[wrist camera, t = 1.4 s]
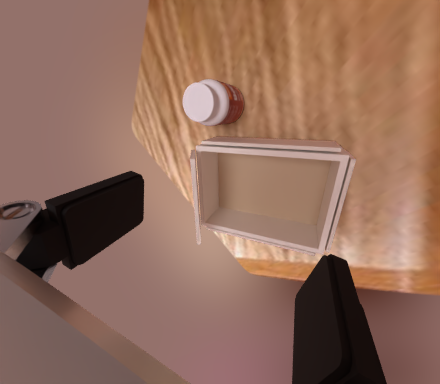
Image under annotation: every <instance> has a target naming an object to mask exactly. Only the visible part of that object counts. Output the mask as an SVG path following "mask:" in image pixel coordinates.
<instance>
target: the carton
mask: <svg viewBox="0 0 440 384" xmlns="http://www.w3.org/2000/svg"><path fill="white" fill-rule="evenodd" d="M196 154H197V169H198V183H199V198H200V213H201V225H202V226H206V228H207V229H208V230H212V231H216V232H220V233H224V234H228V235H232V236H236V237H240V238H244V239H248V240H252V241H256V242H260V243H264V244H268V245H272V246H276V247H280V248H284V249H288V250H293V251H297V252H301V253H305V254H309V255H313V256H315V254H316V253H318V254H322V255H323V253H324V249H325V250H326V252H328V253H329V252H330V249H331V245H332V242H333V238H334V235H335V231H336V228H337V224H338V221H339V217H340V214H341V210H342V207H343V203H344V200H345V196H346V193H347V189H348V186H349V182H350V179H351V175H352V172H353V168H354V165H355V161H356V159H355V158H354V157H353V156H352V155H351V154H350V153H349V152H348V151H347V150H344V149H343V148H342V146H341V145H339V144H338V143H337V142H336V141H322V140H296V139H270V138H244V137H213V138H210V139H207V140H203V141H202V144H200V145H197V146H196Z"/></svg>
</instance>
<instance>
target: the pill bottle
mask: <svg viewBox="0 0 440 384" xmlns="http://www.w3.org/2000/svg"><path fill="white" fill-rule="evenodd" d="M183 107H184V110H185V113H186V114H187V116H188V117H189V118H190V119H191V120H193V121H196V122H199V123H201V124H203V125H206V126H214V125H220V124H227V123H232V122H234V121H236V120H237V119H238V118H239V117H240V115H241V114H242V111H243V108H244V100H243V96H242V94H241V92H240V91H239V90H238V89H237V88H236V87H234V86H232V85H229V84H226V83H223V82H220V81H217V80H212V79H205V80H202V81H200V82H199V83H193V84H191V85H190V86H189V87H188V88H187V89H186V91H185V93H184V96H183Z"/></svg>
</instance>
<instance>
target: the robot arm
mask: <svg viewBox="0 0 440 384" xmlns="http://www.w3.org/2000/svg"><path fill="white" fill-rule="evenodd" d="M45 204H46V207H47V209H44V210H42V207H41V204H39V203H38V202H35V201H28V200H24V201H15V202H9V203H6V204H2V205H0V384H190V383H189V382H187V381H186V380H185V379H183V378H182V377H180V376H179V375H178V374H176V373H175V372H173V371H172V370H170V369H169V368H168V367H166V366H165V365H163V364H162V363H161V362H159V361H158V360H156V359H155V358H153V357H152V356H151V355H149V354H148V353H146V352H145V351H144V350H142V349H141V348H140V347H138V346H137V345H135V344H134V343H132V342H131V341H130V340H128V339H127V338H125V337H124V336H122V335H121V334H120V333H118V332H117V331H115V330H114V329H113V328H111V327H110V326H108V325H107V324H106V323H104V322H103V321H101V320H100V319H98V318H97V317H96V316H94V315H93V314H91V313H90V312H88V311H87V310H86V309H84V308H83V307H81V306H80V305H79V304H77V303H76V302H74V301H73V300H71V299H70V298H69V297H67V296H66V295H64V294H63V293H61V292H60V291H59V290H57V289H56V288H54V287H53V286H51V285H50V284H49V283H48V281H49V279H50V277H51V275H52V273H53V271H54V269H55V267H56V265H57V263H58V262H60V261H61V260H62V263H63V265H65V266H66V267H68V268H69V269H71V270H72V269H73V268H75V267H76V266H77V265H81V264H83V263H85V262H86V261H88V260H89V259H90V258H92V257H93V256H95V255H96V254H98V253H99V252H101V251H102V250H104V249H105V248H106V247H108V246H109V245H111V244H112V243H113V242H115V241H116V240H118V239H119V238H121V237H122V236H123V235H125V234H126V233H128V232H129V231H131V230H132V229H134V228H135V227H136V226H138V225H139V224H140V223H141V222H142V221H143V213H144V212H143V211H144V180H143V178H142V176H141V175H140V174H138V173H135V172H132V171H129V172H126V173H123V174H121V175H117V176H115V177H112V178H109V179H106V180H103V181H100V182H97V183H95V184H92V185H89V186H86V187H83V188H80V189H77V190H75V191H72V192H69V193H66V194H63V195H60V196H57V197H55V198H52V199H49V200H46V201H45ZM292 384H387V383H386V380H385V376H384V374H383V370H382V367H381V364H380V360H379V357H378V354H377V351H376V348H375V345H374V342H373V338H372V335H371V332H370V328H369V325H368V322H367V319H366V316H365V312H364V310H363V307H362V305H361V304H360V302H359V299H358V296H357V293H356V289H355V286H354V282H353V279H352V276H351V273H350V269H349V266H348V263H347V261H346V260H344V259H342V258H339V257H337V256H335V255H332V254H330V255H328V256H326V255H324V256H322V258H321V259H320V261H319V262H318V264H317V265H316V267H315V268H314V269H313V271H312V272H311V274H310V275H309V277H308V278H307V280H306V281H305V283H304V284H303V286H302V287H301V289H300V290H299V292H298V293H297V295H296V298H295V319H294V345H293V376H292Z"/></svg>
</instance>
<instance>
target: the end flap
mask: <svg viewBox="0 0 440 384" xmlns="http://www.w3.org/2000/svg"><path fill="white" fill-rule="evenodd" d="M190 163H191V175H192V187H193V199H194V211H195V223H196V235H197V244H201V234H200V214H199V199H198V185H197V171H196V157H195V150H191V156H190Z"/></svg>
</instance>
